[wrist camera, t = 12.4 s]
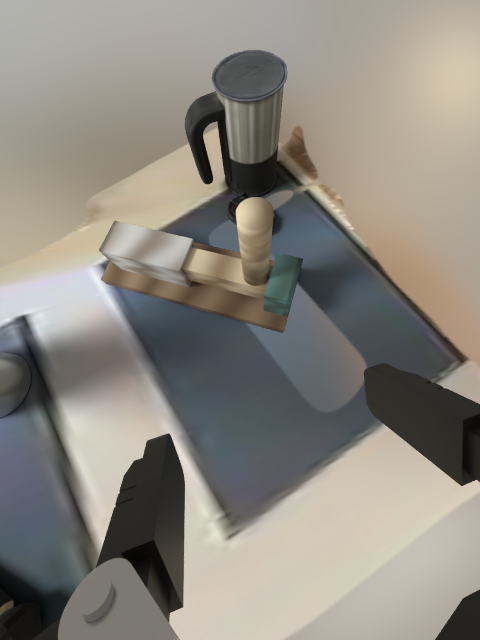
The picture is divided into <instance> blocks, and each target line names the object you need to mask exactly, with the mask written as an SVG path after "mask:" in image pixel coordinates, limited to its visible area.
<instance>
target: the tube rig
mask: <svg viewBox="0 0 480 640" xmlns="http://www.w3.org/2000/svg"><path fill="white" fill-rule="evenodd" d="M191 247H193V248H197V249H201V250H205V251H209V252H214V253H218V254H222V255H226V256H230V257H234V258H239V259H241V253H238V252H233V251H230V250H225V249H221V248H217V247H213V246H208V245H204V244H200V243H196V242H194V241H193V239H191V238H186V237H182V236H178V235H174V234H169V233H165V232H161V231H157V230H152V229H148V228H144V227H139V226H135V225H131V224H127V223H122V222H118V221H114V223H113V224H112V226H111V228H110V230H109V232H108V234H107V236H106V238H105V240H104V242H103V243H102V245H101V247H100V249H99V251H100V252H101V253H102V254H103V255H104V256H105V257H107V258H108V259H109V260H110V262H109V264H108V266H107V268H106V270H105V272H104V274H103V276H102V278H101V280H102V281H103V282H105V283H106V284H109V285H113V286H117V287H120V288H124V289H127V290H131V291H134V292H138V293H142V294H145V295H149V296H152V297H156V298H160V299H163V300H167V301H170V302H174V303H177V304H181V305H185V306H188V307H192V308H195V309H199V310H202V311H206V312H210V313H213V314H217V315H220V316H224V317H228V318H231V319H235V320H238V321H242V322H245V323H249V324H253V325H257V326H260V327H263V328H267V329H271V330H274V331H278V332H281V333H283V332H284V329H285V325H286V321H287V317H288V314H289V310H290V306H291V303H292V299H293V295H294V292H295V288H296V284H297V280H298V277H299V273H300V269H301V266H302V262H303V259H302V258H297V257H293V256H289V255H284V254H280V253H277V256H276V259H275V261H272V260H269V266H272V267H273V269H272V272H271V275H270V279H269V282H268V285H267V289H266V292H265V295H264V299H260V298H256V297H252V296H248V295H244V294H241V293H237V292H233V291H229V290H225V289H222V288H218V287H214V286H210V285H206V284H202V283H199V282H195V281H191V280H188V279H187V277H186V276H185V274H184V273H183V271H182V268H183V266H184V263H185V261H186V258H187V256H188V253H189V251H190V249H191Z"/></svg>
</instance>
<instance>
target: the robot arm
mask: <svg viewBox="0 0 480 640" xmlns="http://www.w3.org/2000/svg"><path fill="white" fill-rule="evenodd" d="M364 380H365V390H366V400H367V405H368V407H369V409H370V411H371V412H372V414H373V415H374V416H375V417H376V418H377V419H379V420H380V421H381V422H382V423H384V424H385V425H386V426H387V427H388V428H390V429H391V430H392V431H393V432H395V433H396V434H397V435H398V436H400V437H401V438H402V439H403V440H405V441H406V442H407V443H408V444H410V445H411V446H412V447H413V448H415V449H416V450H417V451H418V452H420V453H421V454H422V455H423V456H425V457H426V458H427V459H428V460H430V461H431V462H432V463H433V464H435V465H436V466H437V467H438V468H440V469H441V470H442V471H443V472H445V473H446V474H447V475H448V476H450V477H451V478H452V479H453V480H455V481H456V482H457V483H458V484H460V485H461V486H463V485H465V484H468V483H470V482H472V481H475V480H478V481H479V482H480V404H478V403H476V402H474V401H472V400H470V399H468V398H465V397H463V396H461V395H459V394H457V393H455V392H453V391H451V390H449V389H446V388H445V389H444V388H443V387H442V386H440V385H438V384H436V383H432V382H431V381H429V380H427V379H425V378H423V377H421V376H419V375H416V374H412V373H408V372H404V371H400V370H398V369H396V368H394V367H392V366H390V365H388V364H385V363H382V364H379V365H376V366H373V367H370V368H367V369H365V371H364ZM30 382H31V373H30V368H29V366H28V364H27V362H26V361H25V360H24V359H23V358H22V357H20V356H18V355H15V354H10V353H4V352H0V418H1V417H4V416H6V415H8V414H9V413H11V412H12V411H13V410H15V409H16V408H17V407H18V406H19V405H20V403H21V402H22V401H23V399H24V398H25V396H26V394H27V392H28V390H29V386H30ZM184 512H185V481H184V474H183V469H182V466H181V463H180V460H179V457H178V455H177V452H176V449H175V446H174V443H173V440H172V438H171V436H170V434H165V435H162V436H159V437H156V438H153V439H150V440H148V441H147V443H146V447H145V451H144V455H143V458H141V459H138V460H135V461H134V462H133V463H132V465H131V466H130V468H129V469H128V471H127V472H126V474H125V475H124V478H123V481H122V484H121V487H120V494H118V497H117V501H116V507H115V508H114V510H113V514H112V517H111V520H110V524H109V527H108V530H107V533H106V537H105V540H104V543H103V546H102V550H101V553H100V556H99V560H98V563H97V566H96V568H95V569H94V570H93V571H92V572H91V573H90V574H88V575H87V576H86V578H85V579H84V580H83V581H82V582H81V583H80V584H79V586H78V587H77V588H76V590H75V591H74V593H73V594H72V596H71V597H70V599H69V601H68V603H67V605H66V607H65V609H64V611H63V614H62V616H61V617H60V618H59V619H58V620H57V621H56V622H54V623H53V624H52V625H51V626H49V627H48V628H47V629H45V630H44V631H43V632H41V633H40V634H39V635H37V636H36V637H35V638H33V639H32V640H180V639H179V638H178V636H177V635H176V633H175V632H174V630H173V629H172V627H171V626H170V624H169V616H170V613H171V612H173V611H175V610H178V609H180V608H182V607H183V582H184ZM435 640H480V590H478V591H476V592H474V593H472V594H470V595H469V596H467V597H465V598H463V599H462V601H461V602H460V604H459V605H458V607H457V608H456V610H455V611H454V613H453V614H452V616H451V617H450V619H449V620H448V621H447V623H446V624H445V626H444V627H443V629H442V630H441V632H440V633H439V635H438V636H437V638H436V639H435Z"/></svg>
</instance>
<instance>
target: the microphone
mask: <svg viewBox="0 0 480 640" xmlns="http://www.w3.org/2000/svg"><path fill="white" fill-rule="evenodd" d="M13 606H14V603H13V600H12V599H11V598H10V597H9V596H8V595H7V594H6V593H5V592H4V591H3V590H2V585H1V584H0V640H32V639H33V638H35V637H36V636H37V635H39V634H40V633H41V632H42V624H41V618H40V604H39V603H38V602H37V601H36V600H34V601H32V602H30V603H22V604H20V605H17V606H15V607H13Z"/></svg>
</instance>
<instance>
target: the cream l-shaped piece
mask: <svg viewBox="0 0 480 640" xmlns="http://www.w3.org/2000/svg"><path fill="white" fill-rule="evenodd" d="M273 214H274V210H273V207H272V205H271V204H270V202H268V201H267V200H265V199H263V198H260V197H251V198H248V199H245V200H244V201H242V202H241V203H240V204H239V205H238V207H237V209H236V220H237V228H238V237H239V245H240V253H241V259H239V258H234V257H230V256H226V255H222V254H218V253H214V252H209V251H205V250H201V249H197V248H193V247H191V249H190V251H189V253H188V256H187V258H186V261H185V263H184V266H183V268H182V271H183V273H184V274H185V276H186V277H187V279H188V280H191V281H195V282H199V283H202V284H206V285H210V286H214V287H218V288H222V289H225V290H229V291H233V292H237V293H241V294H244V295H248V296H252V297H256V298H260V299H264V295H265V292H266V289H267V285H268V282H269V279H270V275H271V272H272V269H273V267H272V266H269V259H270V248H271V237H272V226H273Z"/></svg>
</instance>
